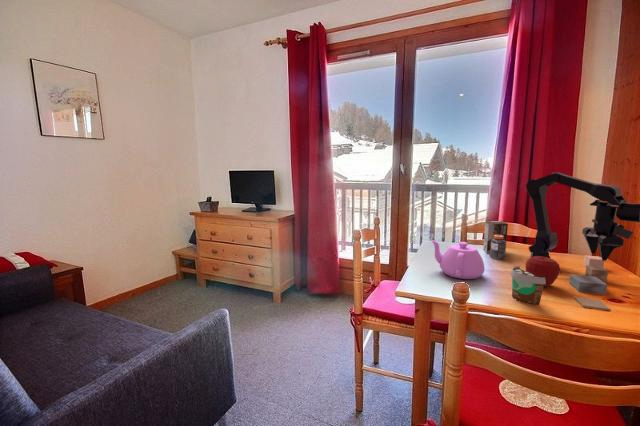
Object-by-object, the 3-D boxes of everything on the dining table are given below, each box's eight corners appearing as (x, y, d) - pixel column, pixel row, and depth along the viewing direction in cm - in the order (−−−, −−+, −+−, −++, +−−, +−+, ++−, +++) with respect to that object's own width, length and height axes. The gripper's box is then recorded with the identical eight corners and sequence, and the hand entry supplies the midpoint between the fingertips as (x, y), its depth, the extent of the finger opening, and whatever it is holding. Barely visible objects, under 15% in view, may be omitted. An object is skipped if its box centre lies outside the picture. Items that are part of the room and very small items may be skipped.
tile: (582, 307, 99) (582, 305, 99) (574, 298, 106) (574, 296, 105) (609, 310, 97) (610, 309, 96) (599, 301, 103) (599, 299, 103)
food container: (499, 292, 111) (502, 265, 109) (515, 291, 111) (518, 265, 110) (525, 308, 99) (528, 278, 97) (542, 307, 99) (546, 278, 98)
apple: (560, 293, 110) (564, 262, 108) (524, 287, 115) (528, 257, 113) (555, 282, 119) (558, 253, 117) (522, 277, 124) (525, 250, 122)
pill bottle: (502, 256, 152) (504, 234, 150) (505, 260, 146) (507, 237, 144) (488, 255, 154) (490, 233, 152) (491, 258, 148) (493, 236, 146)
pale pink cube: (588, 269, 133) (589, 258, 132) (583, 265, 138) (585, 255, 137) (602, 271, 131) (604, 259, 131) (597, 267, 136) (599, 256, 135)
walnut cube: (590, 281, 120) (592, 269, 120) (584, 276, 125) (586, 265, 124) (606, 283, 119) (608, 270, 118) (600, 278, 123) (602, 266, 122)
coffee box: (501, 250, 161) (504, 221, 158) (505, 254, 155) (508, 223, 152) (482, 249, 163) (485, 220, 160) (486, 253, 157) (488, 222, 154)
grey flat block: (578, 292, 111) (579, 281, 110) (569, 284, 118) (570, 274, 118) (605, 295, 108) (607, 284, 108) (594, 286, 116) (596, 276, 115)
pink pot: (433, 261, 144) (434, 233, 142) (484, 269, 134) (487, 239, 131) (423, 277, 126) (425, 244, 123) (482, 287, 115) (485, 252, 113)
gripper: (647, 224, 106) (639, 267, 109) (618, 215, 123) (612, 252, 126) (606, 222, 110) (599, 263, 113) (584, 213, 127) (579, 249, 130)
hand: (598, 256), depth 120 cm, fingers open, 9 cm apart
